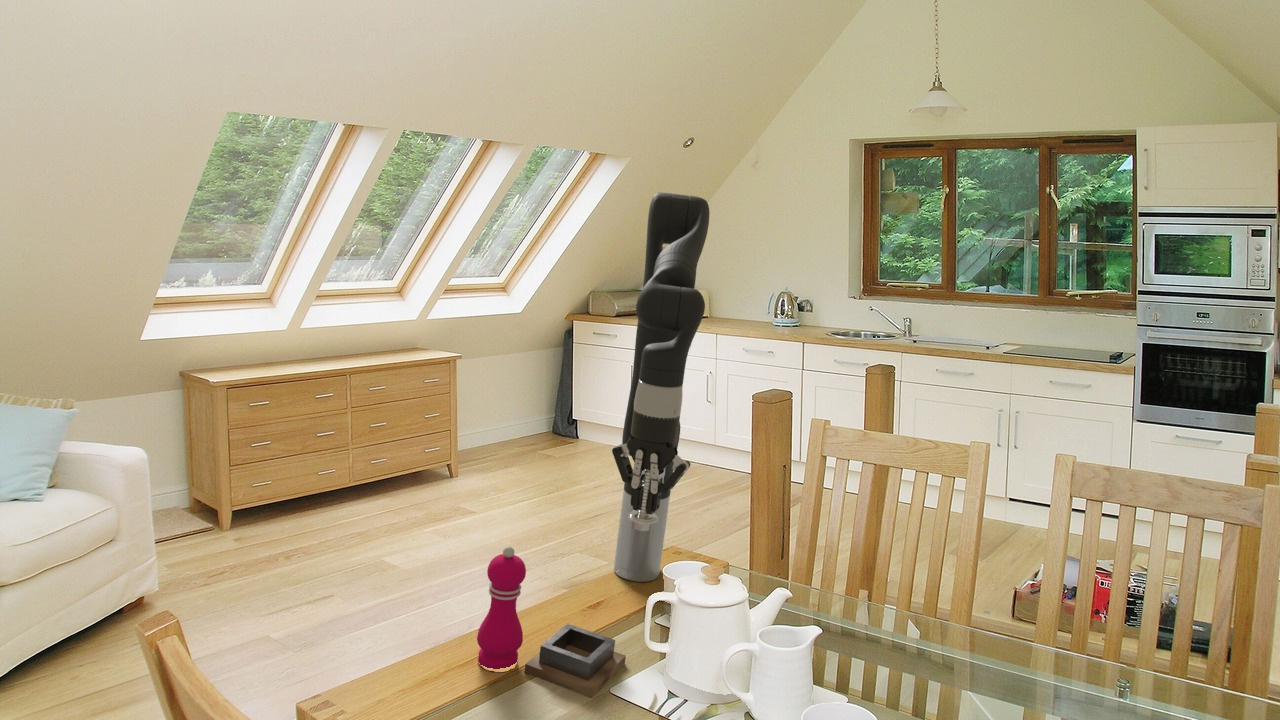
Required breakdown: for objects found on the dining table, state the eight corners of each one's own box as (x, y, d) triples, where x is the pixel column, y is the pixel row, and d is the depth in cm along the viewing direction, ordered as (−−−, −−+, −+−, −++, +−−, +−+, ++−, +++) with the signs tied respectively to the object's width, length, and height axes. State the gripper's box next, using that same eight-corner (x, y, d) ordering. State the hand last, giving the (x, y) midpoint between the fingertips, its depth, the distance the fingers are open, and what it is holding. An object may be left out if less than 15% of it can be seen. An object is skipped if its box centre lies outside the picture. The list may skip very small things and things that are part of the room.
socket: (565, 639, 161) (567, 623, 160) (613, 656, 157) (615, 640, 157) (538, 662, 153) (540, 645, 152) (588, 681, 149) (590, 663, 149)
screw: (637, 520, 161) (661, 529, 159) (621, 527, 157) (646, 536, 155) (647, 446, 158) (672, 454, 156) (631, 451, 154) (657, 460, 152)
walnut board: (561, 641, 163) (562, 633, 163) (624, 663, 158) (625, 655, 158) (524, 672, 152) (525, 663, 152) (591, 697, 148) (592, 688, 147)
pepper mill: (516, 677, 151) (529, 559, 146) (470, 671, 151) (481, 553, 146) (523, 653, 158) (535, 540, 153) (479, 648, 158) (490, 534, 153)
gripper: (705, 414, 154) (691, 515, 158) (628, 396, 160) (615, 494, 163) (688, 423, 148) (674, 529, 151) (608, 404, 153) (596, 507, 156)
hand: (643, 510), depth 157 cm, fingers closed on screw, 2 cm apart
